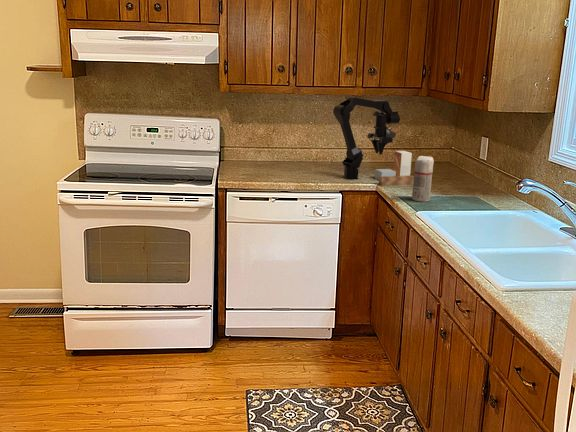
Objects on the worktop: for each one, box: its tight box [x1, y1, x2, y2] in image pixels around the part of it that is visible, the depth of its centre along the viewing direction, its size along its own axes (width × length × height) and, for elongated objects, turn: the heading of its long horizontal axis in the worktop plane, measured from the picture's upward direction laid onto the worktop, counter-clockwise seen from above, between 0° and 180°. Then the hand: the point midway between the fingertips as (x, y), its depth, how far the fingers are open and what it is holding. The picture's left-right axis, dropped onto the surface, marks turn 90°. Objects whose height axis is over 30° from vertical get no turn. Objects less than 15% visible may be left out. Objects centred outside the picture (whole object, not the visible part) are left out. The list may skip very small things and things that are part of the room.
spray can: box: [411, 155, 435, 203], centre depth 280 cm, size 8×8×20 cm
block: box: [374, 168, 397, 181], centre depth 325 cm, size 8×8×5 cm
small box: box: [392, 150, 413, 176], centre depth 336 cm, size 8×6×13 cm
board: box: [378, 174, 414, 187], centre depth 314 cm, size 18×3×4 cm, turn 108°
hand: (378, 153), depth 331 cm, fingers open, 4 cm apart
